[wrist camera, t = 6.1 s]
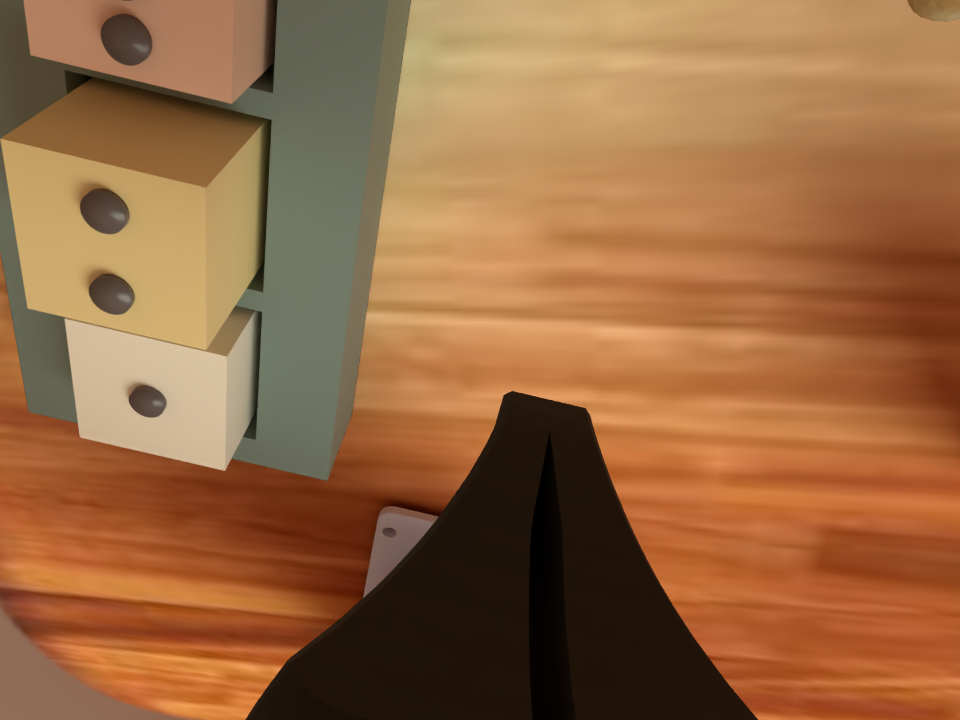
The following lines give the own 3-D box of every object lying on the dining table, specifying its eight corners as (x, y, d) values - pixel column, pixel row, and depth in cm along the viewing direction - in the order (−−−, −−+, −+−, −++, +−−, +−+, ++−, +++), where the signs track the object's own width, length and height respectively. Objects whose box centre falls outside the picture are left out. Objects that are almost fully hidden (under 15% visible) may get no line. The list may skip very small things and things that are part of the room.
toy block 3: (276, 370, 26) (222, 475, 22) (151, 341, 26) (76, 442, 22) (284, 263, 24) (224, 361, 20) (145, 231, 24) (60, 323, 20)
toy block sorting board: (351, 415, 27) (327, 481, 25) (79, 352, 27) (28, 411, 25) (439, -197, 17) (411, -187, 15) (1, -308, 17) (-100, -316, 14)
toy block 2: (271, 250, 22) (202, 355, 18) (122, 215, 22) (22, 313, 18) (279, 105, 20) (201, 192, 16) (111, 65, 20) (-6, 142, 16)
